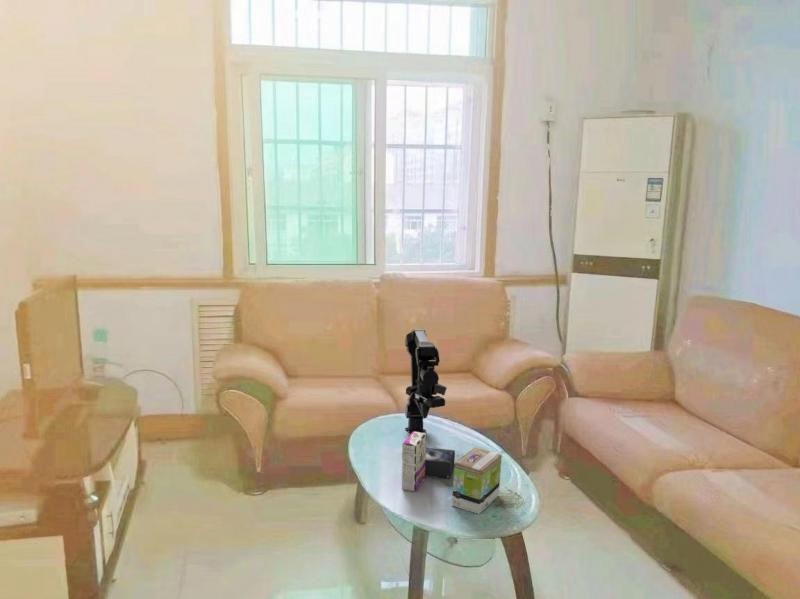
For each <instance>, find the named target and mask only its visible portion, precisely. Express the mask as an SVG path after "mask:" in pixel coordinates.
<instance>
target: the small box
mask: <svg viewBox="0 0 800 599" xmlns="http://www.w3.org/2000/svg"><path fill="white" fill-rule="evenodd" d="M455 458H456V451H455V450H452V449H445V448H435V447H426V469H425V477H431V478H436V479H438V478H446V479H450V478H451V475H452V472H453V468H454V466H455V462H456V461H455V460H456V459H455Z"/></svg>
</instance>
